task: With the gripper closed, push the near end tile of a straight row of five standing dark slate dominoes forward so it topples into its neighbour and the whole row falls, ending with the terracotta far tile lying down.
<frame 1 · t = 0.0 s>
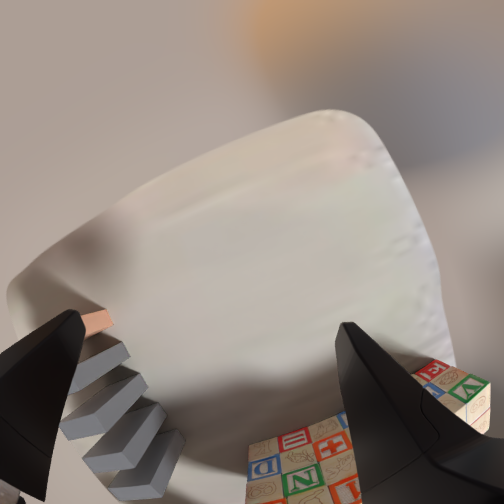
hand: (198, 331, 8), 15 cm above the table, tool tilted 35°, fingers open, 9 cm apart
stack of blocks: (355, 427, 23), on the table
domino 3: (126, 387, 23), on the table
domino 5: (93, 326, 23), on the table
domino 4: (108, 357, 23), on the table
domino 1: (162, 440, 22), on the table
domino 2: (144, 415, 22), on the table
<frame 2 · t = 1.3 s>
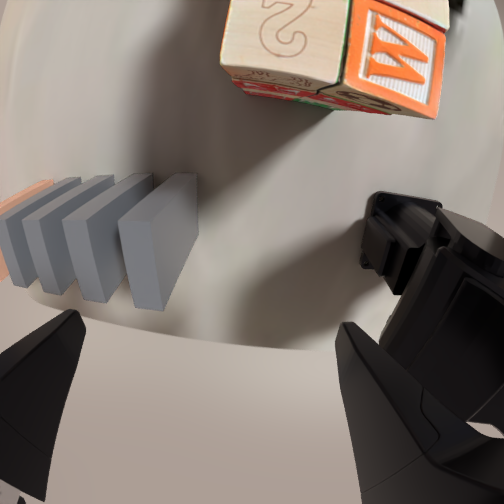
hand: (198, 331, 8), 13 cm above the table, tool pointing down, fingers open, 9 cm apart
domino 3: (108, 203, 20), on the table
domino 5: (51, 204, 20), on the table
domino 4: (77, 204, 20), on the table
domino 1: (187, 204, 20), on the table
domino 2: (145, 203, 20), on the table
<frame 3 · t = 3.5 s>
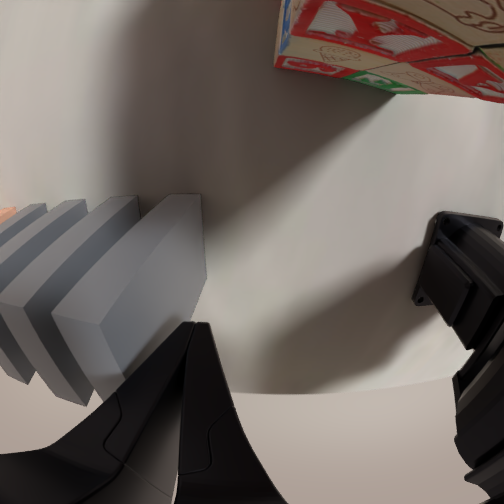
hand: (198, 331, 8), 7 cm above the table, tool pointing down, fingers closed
domino 3: (83, 237, 14), on the table
domino 5: (17, 238, 14), on the table
domino 4: (46, 238, 14), on the table
domino 1: (188, 238, 14), on the table, touching gripper
domino 2: (130, 237, 14), on the table
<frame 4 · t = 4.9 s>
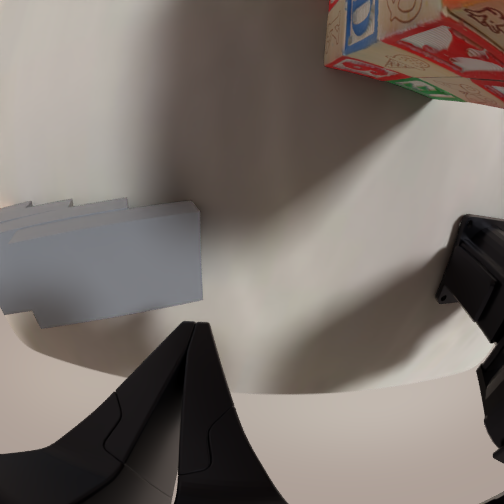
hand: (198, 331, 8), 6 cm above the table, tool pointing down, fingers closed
domino 3: (77, 243, 13), point 1 cm above the table, tilted 64°, touching domino 2, domino 4
domino 1: (196, 251, 14), point 1 cm above the table, tilted 64°, touching domino 2
domino 2: (132, 245, 14), point 1 cm above the table, tilted 64°, touching domino 1, domino 3
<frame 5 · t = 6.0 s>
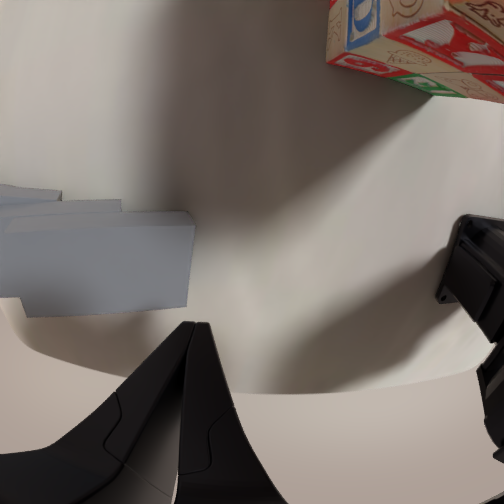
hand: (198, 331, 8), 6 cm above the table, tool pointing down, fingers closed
domino 3: (56, 235, 13), point 1 cm above the table, tilted 63°, touching domino 2, domino 4
domino 1: (186, 261, 14), point 1 cm above the table, tilted 64°, touching domino 2
domino 2: (120, 247, 14), point 1 cm above the table, tilted 63°, touching domino 1, domino 3
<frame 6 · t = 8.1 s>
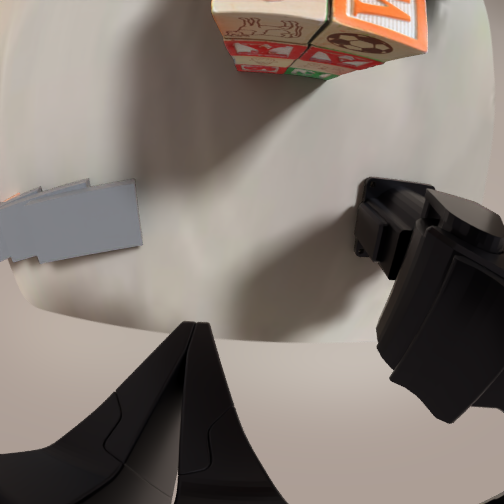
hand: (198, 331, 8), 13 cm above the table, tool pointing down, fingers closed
domino 3: (46, 212, 19), point 1 cm above the table, tilted 60°, touching domino 2
domino 1: (138, 211, 19), point 1 cm above the table, tilted 67°, touching domino 2
domino 2: (93, 208, 19), point 1 cm above the table, tilted 67°, touching domino 1, domino 3
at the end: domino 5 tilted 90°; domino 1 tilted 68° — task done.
